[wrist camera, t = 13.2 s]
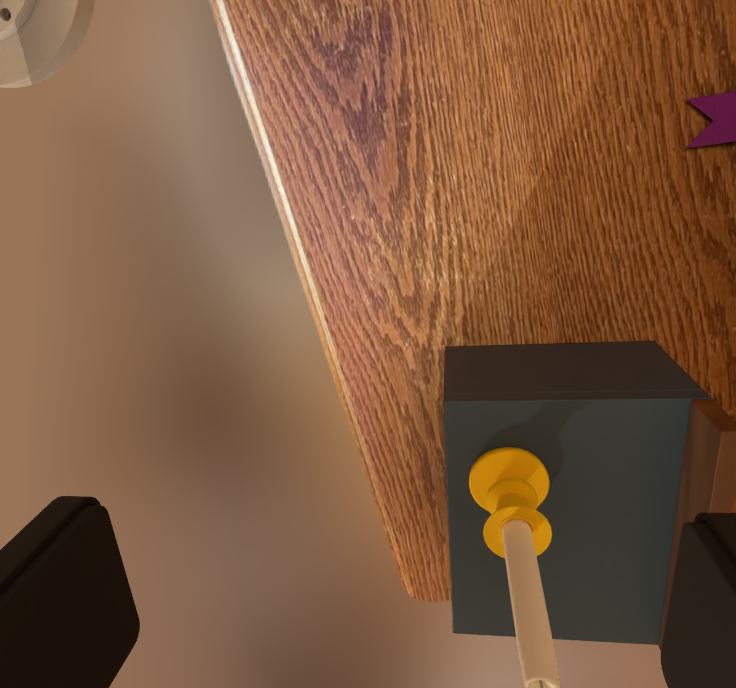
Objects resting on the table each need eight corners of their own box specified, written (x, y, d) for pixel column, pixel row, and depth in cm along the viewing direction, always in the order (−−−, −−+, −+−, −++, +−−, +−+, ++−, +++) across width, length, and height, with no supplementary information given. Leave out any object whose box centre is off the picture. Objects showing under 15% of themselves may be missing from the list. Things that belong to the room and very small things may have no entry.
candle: (481, 519, 38) (501, 754, 23) (458, 457, 36) (464, 667, 22) (557, 502, 36) (627, 741, 22) (536, 437, 35) (597, 648, 21)
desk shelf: (452, 543, 51) (452, 681, 38) (445, 346, 44) (442, 432, 31) (632, 549, 49) (699, 699, 36) (654, 340, 42) (746, 431, 29)
